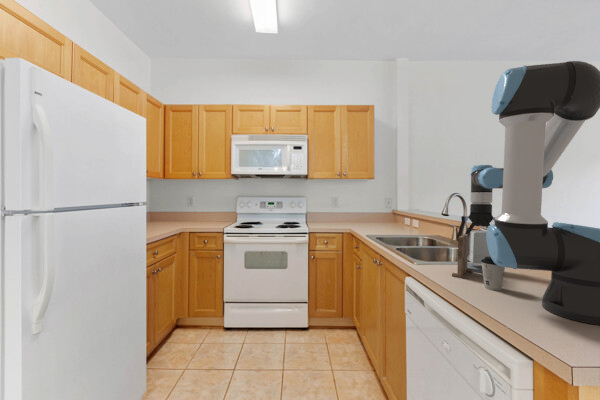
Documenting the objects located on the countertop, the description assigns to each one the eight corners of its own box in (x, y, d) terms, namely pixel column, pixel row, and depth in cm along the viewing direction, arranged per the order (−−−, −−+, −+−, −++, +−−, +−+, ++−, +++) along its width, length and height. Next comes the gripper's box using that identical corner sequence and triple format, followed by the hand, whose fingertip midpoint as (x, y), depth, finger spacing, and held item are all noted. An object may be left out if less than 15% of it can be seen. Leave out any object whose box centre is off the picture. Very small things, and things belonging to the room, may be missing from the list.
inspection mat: (492, 274, 112) (492, 271, 112) (463, 270, 118) (463, 267, 118) (495, 269, 119) (495, 266, 119) (467, 265, 126) (467, 262, 126)
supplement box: (493, 264, 114) (494, 232, 114) (472, 263, 116) (473, 232, 116) (486, 260, 121) (487, 230, 121) (466, 259, 123) (467, 229, 123)
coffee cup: (485, 290, 93) (485, 259, 93) (477, 284, 100) (477, 255, 100) (509, 292, 92) (510, 261, 91) (499, 285, 98) (500, 256, 98)
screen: (466, 279, 106) (467, 238, 105) (451, 276, 109) (452, 236, 109) (472, 272, 115) (473, 234, 115) (458, 270, 118) (459, 233, 118)
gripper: (515, 204, 114) (513, 260, 114) (453, 202, 128) (451, 252, 129) (514, 204, 108) (512, 264, 109) (449, 202, 122) (447, 255, 123)
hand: (479, 258), depth 119 cm, fingers closed on supplement box, 9 cm apart
